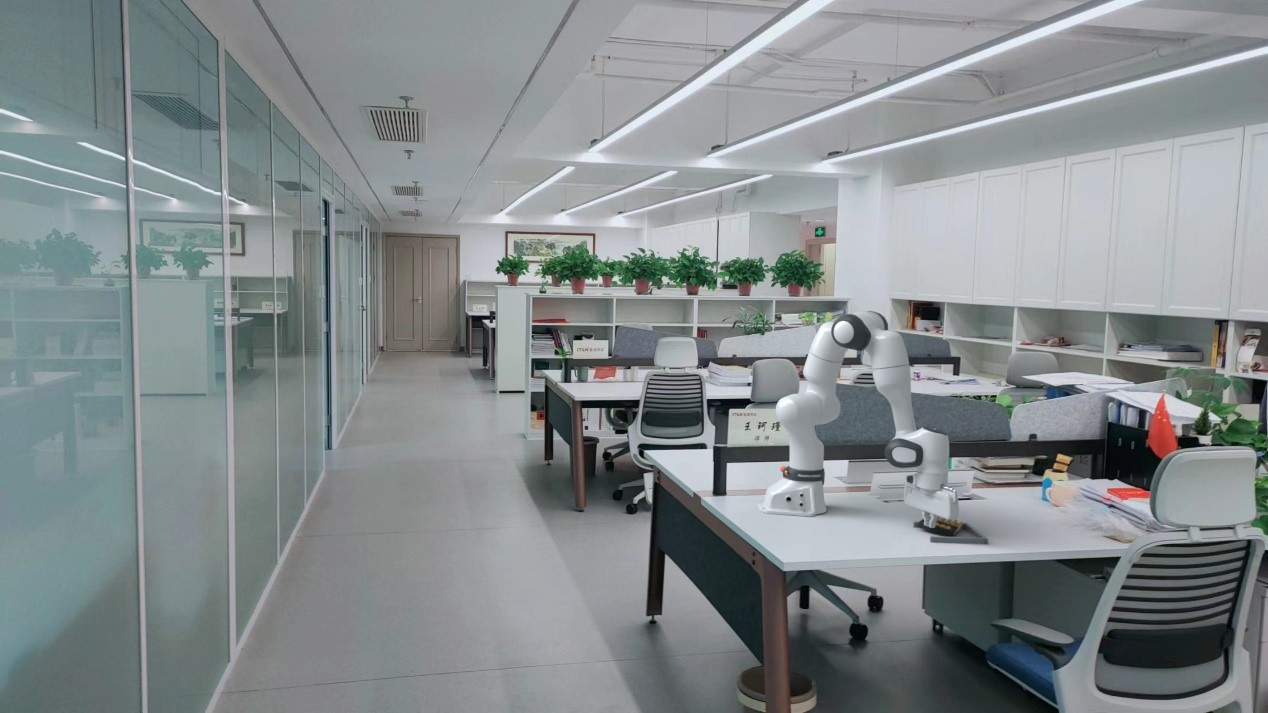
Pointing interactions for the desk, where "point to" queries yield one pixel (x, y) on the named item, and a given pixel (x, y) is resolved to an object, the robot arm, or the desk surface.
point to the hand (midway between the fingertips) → (929, 526)
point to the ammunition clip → (943, 527)
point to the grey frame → (977, 537)
